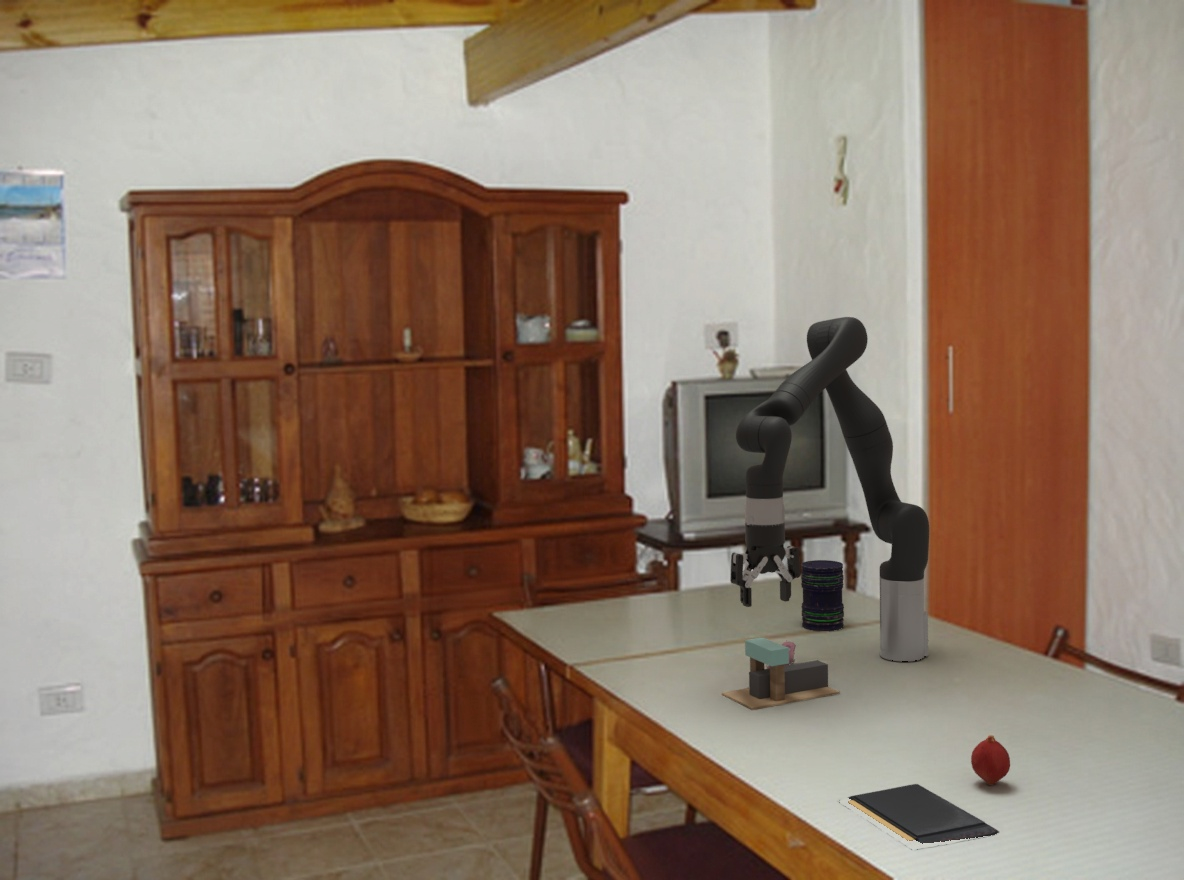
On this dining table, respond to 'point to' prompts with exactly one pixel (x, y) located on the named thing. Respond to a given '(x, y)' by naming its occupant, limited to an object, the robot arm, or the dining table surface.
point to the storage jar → (822, 595)
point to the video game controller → (791, 652)
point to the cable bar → (791, 679)
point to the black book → (920, 815)
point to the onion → (990, 760)
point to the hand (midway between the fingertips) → (765, 603)
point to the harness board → (768, 702)
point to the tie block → (767, 651)
